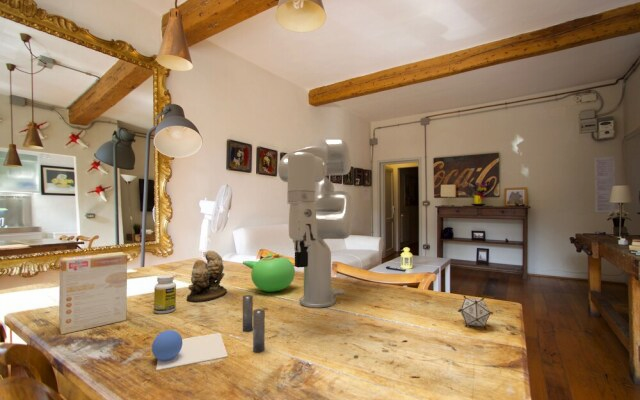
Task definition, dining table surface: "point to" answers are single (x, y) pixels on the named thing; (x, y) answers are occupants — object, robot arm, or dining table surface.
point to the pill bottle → (165, 294)
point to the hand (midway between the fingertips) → (301, 266)
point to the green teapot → (271, 272)
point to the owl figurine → (207, 279)
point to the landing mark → (196, 351)
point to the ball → (167, 345)
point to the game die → (475, 312)
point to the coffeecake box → (92, 291)
